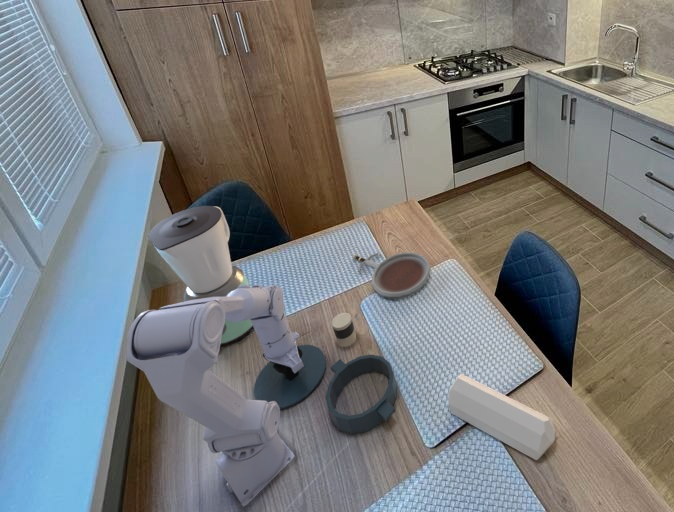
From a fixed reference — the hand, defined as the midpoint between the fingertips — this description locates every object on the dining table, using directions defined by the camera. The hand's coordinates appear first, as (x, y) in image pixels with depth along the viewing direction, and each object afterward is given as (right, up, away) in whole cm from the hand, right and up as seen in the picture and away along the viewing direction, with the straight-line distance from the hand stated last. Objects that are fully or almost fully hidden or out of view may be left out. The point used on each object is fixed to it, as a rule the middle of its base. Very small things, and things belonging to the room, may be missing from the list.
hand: (290, 373), depth 92 cm
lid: (0, -1, 0) cm, 1 cm away
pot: (+18, -4, -4) cm, 19 cm away
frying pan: (+13, +12, +30) cm, 35 cm away
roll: (+9, +2, +10) cm, 13 cm away
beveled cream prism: (+48, -5, -8) cm, 49 cm away
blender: (-23, +4, +15) cm, 27 cm away
